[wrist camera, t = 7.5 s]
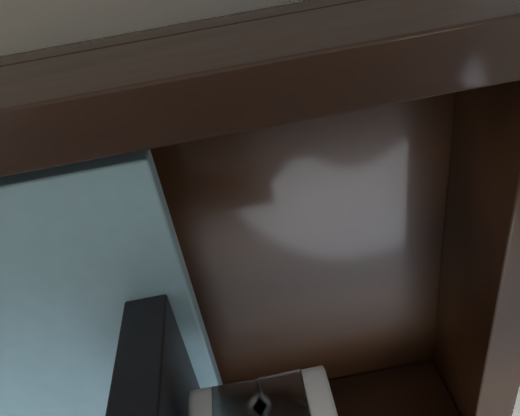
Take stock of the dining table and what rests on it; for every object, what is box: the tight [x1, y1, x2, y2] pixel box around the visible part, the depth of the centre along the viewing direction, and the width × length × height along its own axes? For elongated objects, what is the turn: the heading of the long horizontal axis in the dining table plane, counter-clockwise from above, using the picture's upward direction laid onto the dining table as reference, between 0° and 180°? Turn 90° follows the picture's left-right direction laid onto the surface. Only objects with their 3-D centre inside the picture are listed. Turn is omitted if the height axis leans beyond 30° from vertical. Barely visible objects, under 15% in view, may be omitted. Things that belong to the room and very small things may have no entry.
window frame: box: [0, 0, 520, 416], centre depth 13 cm, size 14×20×4 cm
